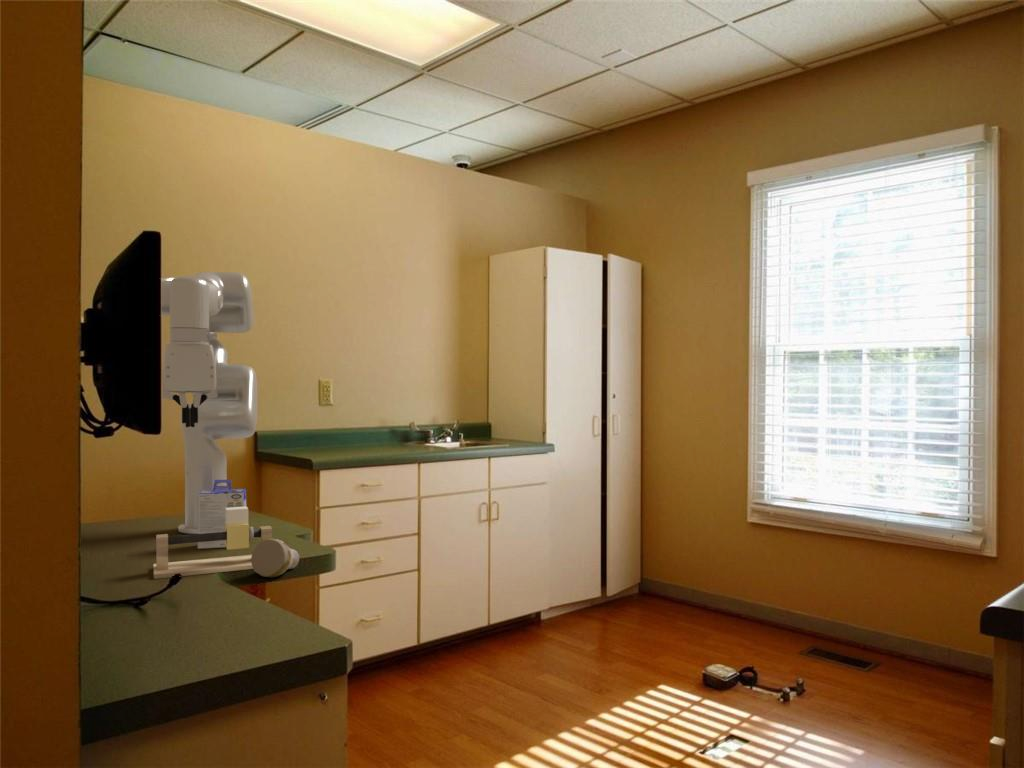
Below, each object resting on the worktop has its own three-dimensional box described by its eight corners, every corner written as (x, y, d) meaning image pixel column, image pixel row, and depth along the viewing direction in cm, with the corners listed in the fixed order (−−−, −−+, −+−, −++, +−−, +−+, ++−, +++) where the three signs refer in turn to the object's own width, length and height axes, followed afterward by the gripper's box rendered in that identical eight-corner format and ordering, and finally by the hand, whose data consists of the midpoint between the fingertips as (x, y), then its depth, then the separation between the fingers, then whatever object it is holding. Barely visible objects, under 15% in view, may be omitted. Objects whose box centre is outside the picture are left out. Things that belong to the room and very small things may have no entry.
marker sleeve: (225, 545, 153) (225, 507, 153) (246, 543, 155) (246, 505, 155) (227, 549, 149) (227, 510, 149) (248, 547, 151) (248, 509, 151)
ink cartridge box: (247, 542, 174) (246, 478, 174) (245, 547, 168) (245, 481, 168) (200, 544, 171) (200, 479, 171) (197, 549, 166) (196, 482, 166)
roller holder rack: (153, 568, 150) (153, 530, 150) (270, 556, 159) (270, 521, 159) (153, 579, 142) (153, 539, 142) (277, 566, 151) (276, 528, 151)
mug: (310, 568, 151) (306, 529, 146) (279, 601, 143) (274, 561, 138) (279, 555, 153) (274, 517, 148) (246, 588, 146) (240, 548, 140)
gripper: (226, 339, 165) (226, 424, 165) (149, 338, 158) (149, 426, 159) (229, 337, 158) (230, 426, 158) (149, 336, 152) (150, 429, 152)
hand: (190, 426), depth 158 cm, fingers closed
